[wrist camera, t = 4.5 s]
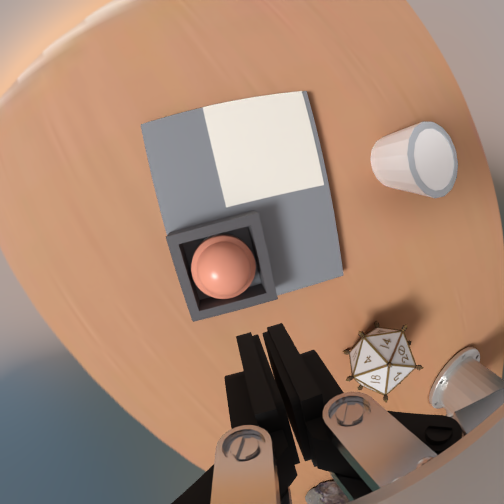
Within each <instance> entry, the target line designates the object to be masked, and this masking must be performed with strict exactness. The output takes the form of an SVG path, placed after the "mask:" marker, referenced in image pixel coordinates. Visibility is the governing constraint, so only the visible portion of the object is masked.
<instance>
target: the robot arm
mask: <svg viewBox="0 0 504 504" xmlns="http://www.w3.org/2000/svg"><path fill="white" fill-rule="evenodd" d="M267 330H268V332H264V333H263V337H264V341H265V345H266V349H267V352H268V356H269V360H270V364H271V367H272V371H273V374H272V371H271V368H270V366H269V363H268V360H267V358H266V355H265V352H264V350H263V347H262V344H261V341H260V339H259V336H258V335H254V336H252V334H251V332H250V333H247V334H243V335H239V336H236V338H237V343H238V347H239V352H240V356H241V360H242V365H243V369H244V371H243V372H239V373H235V374H231V375H227V376H225V385H226V393H227V400H228V407H229V414H230V421H231V428H232V429H231V430H229V431H227V432H226V433H225V434H224V435H222V437H221V438H220V439H219V441H218V443H217V446H216V453H215V463H214V465H213V466H212V467H211V468H210V469H209V470H207V471H206V472H205V473H204V474H203V475H202V476H201V477H200V478H199V479H198V480H197V481H196V482H195V483H194V484H193V485H192V486H191V487H189V488H188V489H187V490H186V491H185V492H184V493H183V494H182V495H181V496H179V497H178V498H177V499H176V500H175V501H174V502H173V503H171V504H292V500H291V492H290V488H289V486H290V485H291V483H292V482H293V481H294V479H295V478H296V476H297V472H296V469H295V466H294V465H295V464H298V463H300V461H299V457H298V453H297V450H296V446H295V442H294V438H293V435H292V431H291V427H292V429H293V432H294V434H295V437H296V440H297V442H298V445H299V447H300V450H301V452H302V455H303V457H304V460H305V461H308V460H312V462H313V465H314V467H316V466H317V467H318V469H322V470H325V471H329V472H330V474H331V476H332V478H333V479H334V480H335V482H336V483H337V485H338V486H339V487H340V489H341V490H342V491H343V493H344V494H345V495H346V496H347V498H348V499H349V500H350V502H348V503H346V504H504V380H503V379H501V378H500V377H499V376H497V375H496V374H495V373H493V372H492V371H490V370H489V369H488V368H486V367H485V366H484V365H482V364H481V363H480V353H479V351H478V350H477V349H475V348H474V347H467V348H465V349H463V350H461V351H460V352H458V353H457V354H456V355H455V356H454V357H453V358H452V359H451V360H450V361H449V362H448V363H447V364H446V365H445V367H444V368H443V369H442V371H441V372H440V373H439V375H438V377H437V378H436V380H435V382H434V384H433V386H432V388H431V391H430V395H429V402H430V404H431V405H432V406H433V407H434V408H437V409H438V408H443V407H444V408H445V409H446V413H447V414H446V416H442V415H426V414H413V413H402V412H393V411H386V410H385V409H384V408H383V407H382V406H381V405H379V404H378V403H377V402H376V401H375V400H374V399H373V398H372V397H370V396H368V395H367V394H364V393H360V392H347V393H343V391H342V390H341V388H340V387H339V385H338V384H337V382H336V381H335V379H334V378H333V376H332V375H331V373H330V372H329V370H328V369H327V367H326V366H325V364H324V363H323V361H322V360H321V358H320V357H319V355H318V354H317V352H316V351H315V350H311V351H308V352H305V353H302V354H299V352H298V350H297V349H296V347H295V345H294V343H293V341H292V340H291V338H290V336H289V334H288V333H287V331H286V329H285V327H284V326H283V324H282V323H281V324H277V325H274V326H271V327H267ZM273 375H274V376H273ZM274 378H275V379H274ZM288 419H289V420H288ZM289 421H290V424H291V427H290V424H289Z"/></svg>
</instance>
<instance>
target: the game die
mask: <svg viewBox="0 0 504 504" xmlns="http://www.w3.org/2000/svg"><path fill="white" fill-rule="evenodd" d="M375 327H376V328H375V329H373V330H372V331H370V332H369V333H367V334H366V335H364V333H363V331H362V332H360V331H359V336H360V337H362V338H361V339H360V340H359V342H358V343H357V344H356V345H355V346H354V347H353V349H352V350H351V351H348V350H345V351H343V352H344V353H345V354H349V356H350V364H351V372H352V376H349V377H347V379H346V381H350V380H352V379H353V378H354V379H355V380H356V381H357V382H358V383H359V384H360V386H359V387H358V390H362V388H363V387H365V388H368V389H370V390H372V391H375V392H377V393H380V394H382V395H384V397H383V398H384V401H385V402H387V400H388V396H387V394H388V393H389V392H391V391H392V390H393V389H394V388H395V387H396V386H397V385H398V384H400V383H401V382H402V381H403V380H404V379H405V378H406V377H407V376H408V375H409V374H410V373H411V372H412V371H413V370H414V369H415V368H416V369H417V370H418V369H419V370H420V369H423V367H422V366H421V365H416V363H415V360H414V358H413V355H412V352H411V349H410V347H409V345H411V341H407V339H406V336H405V334H404V331H405V330H406V329H407V324H406V325H403V327H402V330H395V329H388V328H380V327H379V323H378V322H377V321H376V322H375Z"/></svg>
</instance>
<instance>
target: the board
mask: <svg viewBox="0 0 504 504" xmlns="http://www.w3.org/2000/svg"><path fill="white" fill-rule="evenodd" d="M141 129H142V134H143V139H144V144H145V148H146V153H147V157H148V162H149V166H150V171H151V175H152V179H153V183H154V187H155V191H156V195H157V199H158V203H159V207H160V211H161V215H162V218H163V222H164V226H165V229H166V233H167V236H166V239H167V243H168V246H169V250H170V253H171V256H172V260H173V263H174V266H175V269H176V273H177V276H178V279H179V282H180V285H181V288H182V291H183V294H184V297H185V300H186V303H187V306H188V309H189V312H190V315H191V318H192V321H193V322H194V321H198V320H202V319H206V318H210V317H214V316H218V315H221V314H225V313H229V312H233V311H237V310H240V309H244V308H248V307H251V306H255V305H258V304H262V303H266V302H269V301H273V300H276V299H278V297H277V295H281V294H284V293H288V292H291V291H294V290H298V289H301V288H304V287H308V286H311V285H314V284H317V283H321V282H324V281H327V280H330V279H333V278H337V277H340V276H343V269H342V261H341V254H340V247H339V240H338V234H337V228H336V222H335V216H334V210H333V204H332V199H331V194H330V188H329V183H328V178H327V174H326V169H325V164H324V159H323V155H322V150H321V146H320V142H319V138H318V133H317V129H316V125H315V121H314V117H313V113H312V110H311V106H310V102H309V98H308V95H307V91H298V92H289V93H280V94H273V95H265V96H259V97H252V98H246V99H241V100H235V101H230V102H225V103H220V104H215V105H210V106H206V107H203V108H199V109H194V110H190V111H186V112H182V113H179V114H175V115H171V116H168V117H164V118H161V119H157V120H154V121H151V122H147V123H144V124H141ZM222 233H224V234H231V235H234V236H236V237H238V238H240V239H241V240H242V241H243V242H245V244H246V245H247V246H248V248H249V249H250V250H251V252H252V254H253V256H254V259H255V264H256V271H255V276H254V279H253V281H252V283H251V284H250V286H249V287H248V288H247V289H246V290H245V291H244V292H243V293H241V294H240V295H238V296H236V297H233V298H228V299H218V298H214V297H211V296H208V295H207V294H205V293H204V292H202V291H201V290H200V289H199V288H198V287H197V285H196V284H195V282H194V280H193V277H192V272H191V264H192V259H193V255H194V252H195V250H196V248H197V246H198V245H199V244H200V243H201V242H202V241H203V240H204V239H206V238H207V237H209V236H212V235H215V234H222Z"/></svg>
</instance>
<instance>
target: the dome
mask: <svg viewBox="0 0 504 504" xmlns="http://www.w3.org/2000/svg"><path fill="white" fill-rule="evenodd" d="M255 271H256V264H255V259H254V256H253V254H252V252H251V250H250V249H249V248H248V246H247V245H246V244H245V242H243V241H242V240H241V239H240V238H238V237H236V236H234V235H231V234H224V233H222V234H215V235H212V236H209V237H207V238H206V239H204V240H203V241H202V242H201V243H200V244H199V245H198V246H197V248H196V250H195V252H194V255H193V259H192V264H191V272H192V277H193V280H194V282H195V284H196V285H197V287H198V288H199V289H200V290H201V291H202V292H204V293H205V294H207V295H208V296H211V297H214V298H218V299H228V298H233V297H236V296H238V295H240V294H241V293H243V292H244V291H245V290H246V289H247V288H248V287H249V286H250V284H251V283H252V281H253V279H254V276H255Z"/></svg>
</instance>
